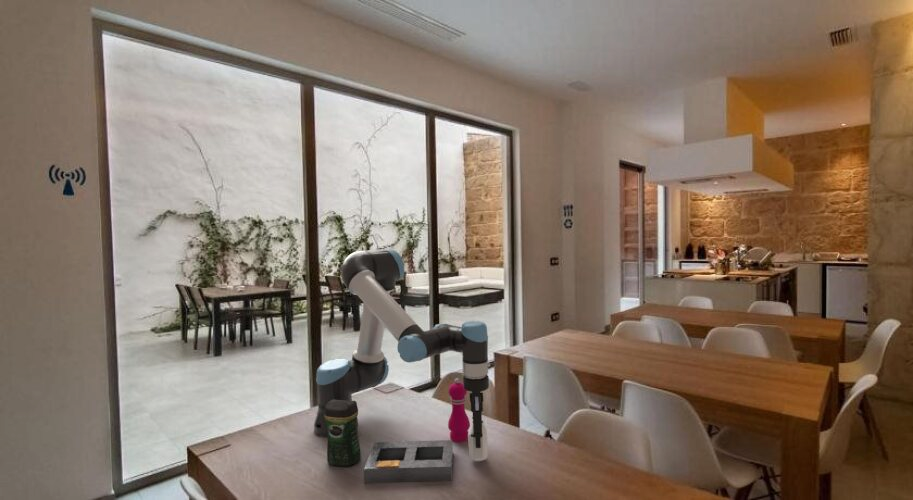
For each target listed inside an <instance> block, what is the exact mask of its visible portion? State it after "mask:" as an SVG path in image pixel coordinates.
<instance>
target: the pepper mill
mask: <svg viewBox="0 0 913 500" xmlns="http://www.w3.org/2000/svg"><path fill="white" fill-rule="evenodd" d="M467 392H468V391H467V390H465V389H464V387H463V382H461V380H460V379H459V378H458V377H457V378H455V379H454V382H453V383H451V384H450V385H449V387H448V395H449V396H450V403H451V409H452V410H451V414H450V416H449V419H448V422H447V423H448V424H447V426H448V430H449V431H450V432H449V440H452V442H455V443H462V442H465V441H468V432H469V429H470V427H471V423H470V419H469V416H468V414H467V413H466V410H465V404H466V401H467V400H466V399H467V398H466V396H467Z"/></svg>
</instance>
